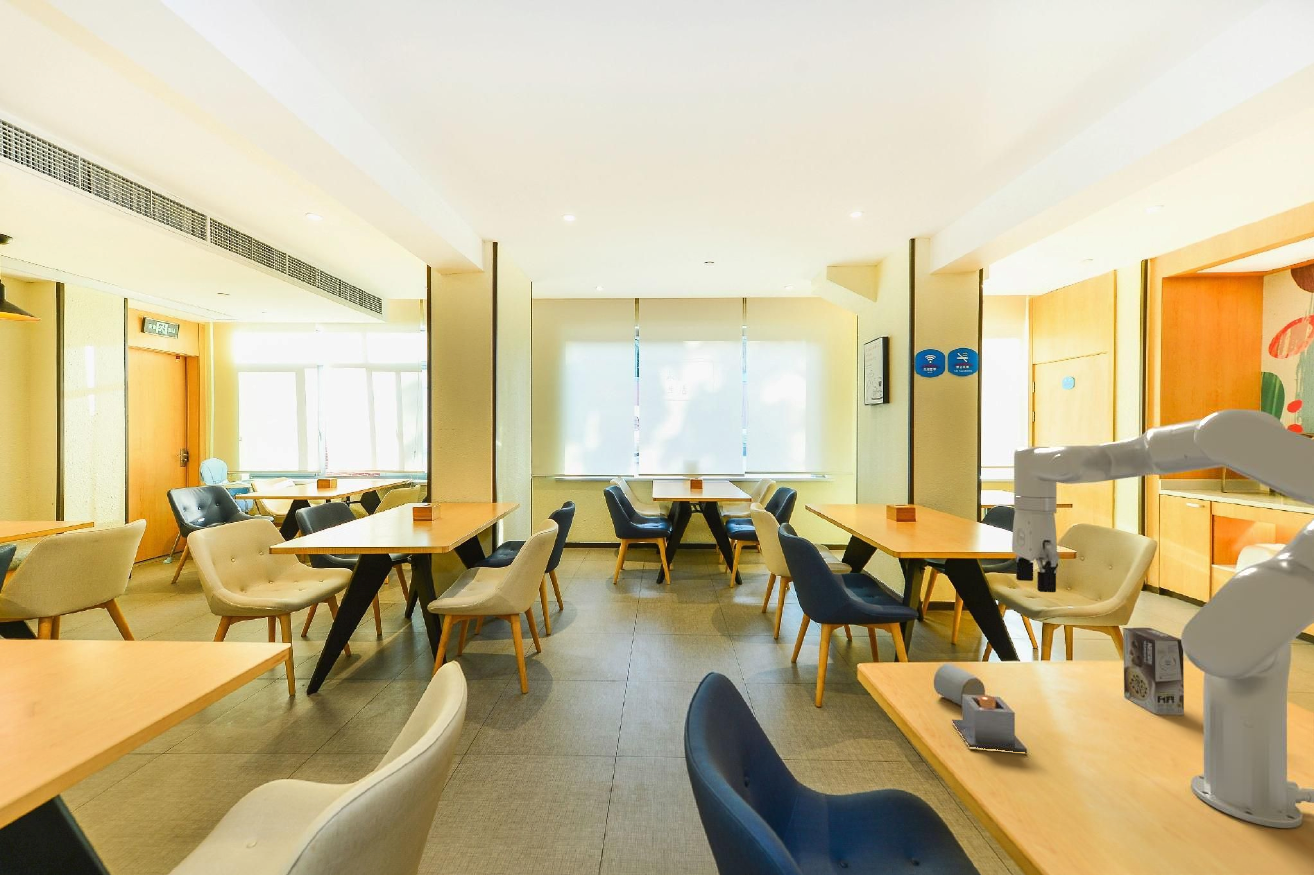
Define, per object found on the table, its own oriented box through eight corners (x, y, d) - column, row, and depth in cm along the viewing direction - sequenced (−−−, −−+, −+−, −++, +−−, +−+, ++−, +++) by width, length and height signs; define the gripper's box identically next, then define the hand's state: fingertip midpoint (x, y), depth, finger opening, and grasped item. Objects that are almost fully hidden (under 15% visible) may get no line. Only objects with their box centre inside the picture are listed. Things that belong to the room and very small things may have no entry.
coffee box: (1185, 715, 124) (1185, 640, 124) (1155, 715, 124) (1155, 640, 124) (1150, 697, 133) (1150, 626, 133) (1122, 696, 133) (1121, 626, 133)
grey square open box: (999, 726, 117) (999, 697, 117) (1014, 744, 110) (1014, 713, 110) (962, 723, 118) (962, 694, 118) (975, 741, 111) (975, 710, 111)
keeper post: (1004, 728, 118) (1004, 689, 118) (1026, 754, 108) (1026, 711, 108) (952, 724, 120) (952, 685, 120) (969, 749, 110) (969, 707, 110)
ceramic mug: (963, 713, 125) (963, 678, 125) (932, 698, 132) (933, 664, 132) (998, 706, 129) (998, 671, 129) (966, 691, 136) (966, 659, 136)
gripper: (998, 500, 131) (999, 575, 131) (1034, 509, 114) (1035, 595, 114) (1035, 501, 130) (1035, 577, 130) (1077, 510, 113) (1077, 597, 113)
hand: (1035, 585), depth 122 cm, fingers open, 9 cm apart
